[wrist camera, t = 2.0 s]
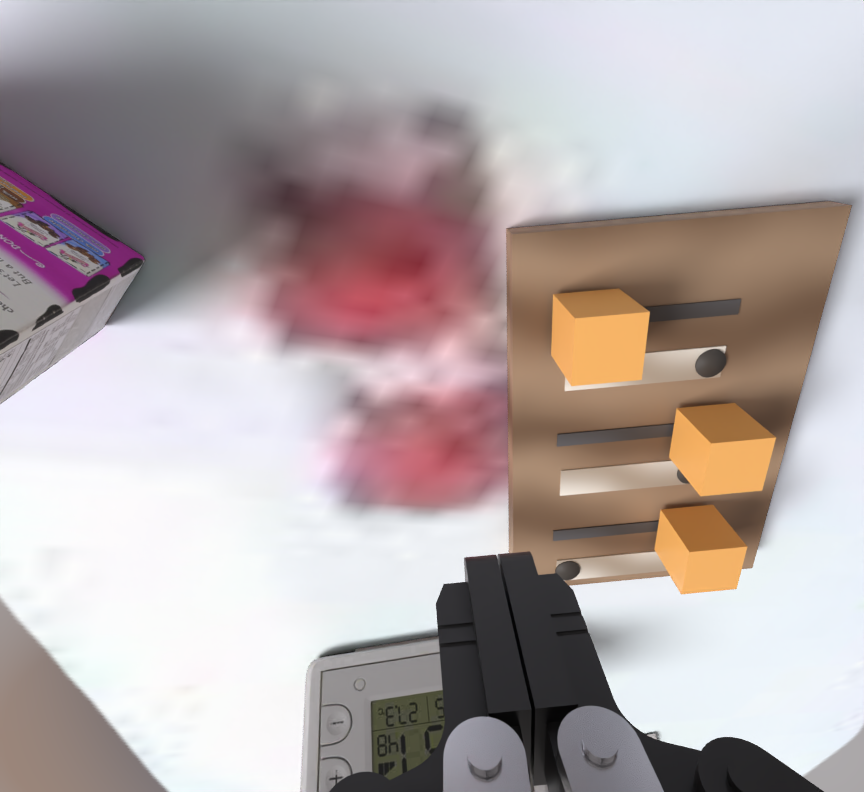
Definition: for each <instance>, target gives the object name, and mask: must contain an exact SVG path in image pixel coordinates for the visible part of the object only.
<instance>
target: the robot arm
mask: <svg viewBox="0 0 864 792" xmlns="http://www.w3.org/2000/svg"><path fill="white" fill-rule="evenodd" d="M464 565H465V582H461V583H451V584H444V585H443V588H442V590H441V593H440V595H439V598H438V600H437V603H436V611H437V624H438V637H439V650H440V663H441V676H442V689H443V702H444V715H445V724H444V730H443V734H442V737H441V740H440V742H439V744H438V746H437V747H436V749H435V750H434V752H433V753H432V754H431V755H430V756H429V757H428V758H427V759H426V760H425V761H424V762H423V763H421V764H420V765H418V766H416V767H415V768H413V769H411V770H409V771H407V772H405V773H403V774H401V775H399V776H397V777H395V778H393V779H391V780H389V779H388V778H386V777H384V776H383V775H381V774H378V773H375V772H358V773H354V774H352V775H349V776H347V777H345V778H344V779H342V780H341V781H339V782H338V783H337V784H336V785H335V786H334V787H333V788H332V789H331V790H330V791H329V792H531V789H530V771H531V776H532V781H533V786H538V785H547V787H548V792H824V791H822V790H821V789H819V788H818V787H816V786H815V785H814V784H812V783H810V782H809V781H808V780H806V779H805V778H804V777H802V776H801V775H799V774H798V773H796V772H795V771H794V770H792V769H791V768H789V767H788V766H786V765H785V764H784V763H782V762H781V761H779V760H778V759H776V758H775V757H774V756H772V755H771V754H769V753H768V752H766V751H765V750H763V749H762V748H760V747H758V746H757V745H755V744H753V743H751V742H748V741H745V740H742V739H739V738H733V737H722V738H717V739H714V740H712V741H710V742H709V743H707V744H706V745H705V747H704V748H703V749H702V751H699V750H695V749H691V748H687V747H683V746H678V745H674V744H670V743H666V742H662V741H659V740H656V739H654V738H652V737H649V736H647V735H646V734H644V733H642V732H641V731H639V730H638V729H637V728H635V727H634V726H633V725H632V724H631V723H630V722H629V721H628V720H627V719H626V718H625V717H624V716H623V714H622V713H621V712H620V710H619V709H618V707H617V705H616V703H615V701H614V699H613V696H612V693H611V691H610V688H609V685H608V682H607V680H606V677H605V674H604V672H603V669H602V666H601V664H600V661H599V658H598V656H597V653H596V650H595V648H594V645H593V642H592V640H591V637H590V634H588V630H587V626H586V624H585V621H584V618H583V616H582V615H581V610H580V608H579V605H578V602H577V600H576V597H575V594H574V592H573V590H572V589H571V588H570V587H569V586H568V584H567V583H566V582H565V581H564V580H563V579H562V578H561V577H560V576H559V575H558V574H557V573H554V574H543V575H538V573H537V569H536V566H535V563H534V560H533V557H532V554H531V552H530V551H528V552H517V553H507V554H498V558H497V556H496V555H487V556H477V557H466V558H464Z"/></svg>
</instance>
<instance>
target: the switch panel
mask: <svg viewBox="0 0 864 792" xmlns="http://www.w3.org/2000/svg"><path fill="white" fill-rule="evenodd" d="M851 207H852V205H848V204H842V203H837V202H831V201H824V202H813V203H801V204H789V205H777V206H766V207H754V208H742V209H730V210H719V211H707V212H695V213H683V214H672V215H660V216H648V217H637V218H625V219H613V220H601V221H590V222H578V223H566V224H554V225H543V226H531V227H519V228H507V229H506V244H507V364H508V483H509V553H517V552H528V551H530V552H531V554H532V557H533V560H534V563H535V566H536V569H537V573H538V575H543V574H554V573H557V574H558V575H559V576H560V577H561V578H562V579H563V580H564V581H565V582H566V583H567V584H568V586H569V585H580V584H590V583H601V582H611V581H621V580H632V579H642V578H653V577H663V576H670V575H669V573H668V571H667V570H666V568H665V566H664V565H663V563H662V561H661V560H660V558H659V556H658V555H657V553H656V551H655V550H654V549H655V542H656V536H657V530H658V523H659V517H660V511H661V509H672V508H682V507H693V506H704V505H714V506H715V508H716V509H717V510H718V511H719V513H720V514H721V515H722V516H723V517H724V519H725V520H726V521H727V522H728V524H729V525H730V526H731V527H732V528H733V530H734V531H735V532H736V533H737V534H738V536H739V537H740V538H741V539H742V541H743V542H744V543H745V544H746V545H747V550H746V554H745V558H744V562H743V566H742V569H747V568H752V567H753V563H754V560H755V556H756V552H757V549H758V545H759V542H760V538H761V534H762V531H763V527H764V523H765V520H766V516H767V512H768V509H769V505H770V501H771V498H772V494H773V491H774V487H775V483H776V480H777V476H778V472H779V469H780V465H781V461H782V458H783V454H784V451H785V447H786V443H787V440H788V436H789V432H790V429H791V425H792V421H793V418H794V414H795V411H796V407H797V403H798V400H799V396H800V392H801V389H802V385H803V381H804V378H805V374H806V371H807V367H808V363H809V360H810V356H811V352H812V349H813V345H814V341H815V338H816V334H817V331H818V327H819V323H820V320H821V316H822V312H823V309H824V305H825V301H826V298H827V294H828V290H829V287H830V283H831V280H832V276H833V272H834V269H835V265H836V261H837V258H838V254H839V250H840V247H841V243H842V240H843V236H844V232H845V229H846V225H847V221H848V218H849V214H850V210H851ZM618 288H619V289H620V290H622V291H623V292H624V293H626V294H627V295H628V296H630V297H631V298H632V299H634V300H635V301H636V302H638V303H639V304H640V305H641V306H643V307H644V308H645V309H647V310H648V311H649V312H650V316H649V324H648V332H647V341H646V349H645V357H644V366H643V374H642V380H636V381H624V382H613V383H602V384H591V385H580V386H571V385H570V383H569V382H568V380H567V379H566V377H565V376H564V374H563V373H562V371H561V370H560V368H559V367H558V365H557V364H556V362H555V360H554V359H553V357H552V356H551V343H552V312H553V294H560V293H572V292H583V291H595V290H606V289H618ZM728 403H735V404H737V405H738V406H739V407H740V408H741V409H743V410H744V411H745V412H746V413H747V414H749V415H750V416H751V417H752V418H753V419H755V420H756V421H757V422H758V423H759V424H761V425H762V426H763V427H764V428H765V429H767V430H768V431H769V432H770V433H771V434H773V435H774V436H775V437H776V440H775V444H774V448H773V451H772V455H771V459H770V463H769V467H768V471H767V474H766V478H765V482H764V486H763V490H762V491H753V492H742V493H731V494H721V495H710V496H700V495H699V494H698V493H697V491H696V490H695V489H694V488H693V486H692V485H691V484H690V483H689V481H688V480H687V479H686V478H685V476H684V475H683V474H682V473H681V472H680V470H679V469H678V468H677V467H676V465H675V464H674V463H673V462H672V460H671V459H670V458H669V454H670V447H671V441H672V435H673V428H674V422H675V415H676V409H677V408H684V407H695V406H706V405H717V404H728Z"/></svg>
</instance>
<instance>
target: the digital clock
mask: <svg viewBox="0 0 864 792" xmlns="http://www.w3.org/2000/svg"><path fill="white" fill-rule="evenodd" d="M444 724H445V715H444V702H443V689H442V676H441V663H440V650H439V637H438V636H435V637H429V638H423V639H416V640H410V641H404V642H397V643H391V644H385V645H378V646H372V647H366V648H359V649H355V652H351V653H345V654H339V655H333V656H326V657H322V658H318V659H316V660H314V661H313V662H312V663H310V665H309V667H308V670H307V674H306V684H305V705H304V725H303V746H302V766H301V787H300V792H329V791H330V790H331V789H332V788H333V787H334V786H335V785H336V784H337V783H338V782H339V781H341V780H342V779H344V778H345V777H347V776H349V775H352V774H354V773H358V772H375V773H378V774H381V775H383V776H384V777H386V778H388V779H389V780H391V779H393V778H395V777H397V776H399V775H401V774H403V773H405V772H407V771H409V770H411V769H413V768H415V767H416V766H418V765H420V764H421V763H423V762H424V761H425V760H426V759H427V758H428V757H429V756H430V755H431V754H432V753H433V752H434V750H435V749H436V747H437V746H438V744H439V742H440V740H441V737H442V734H443V730H444ZM530 789H531V792H548V787H547V785H538V786H533V781H532V776H531V771H530Z"/></svg>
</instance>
